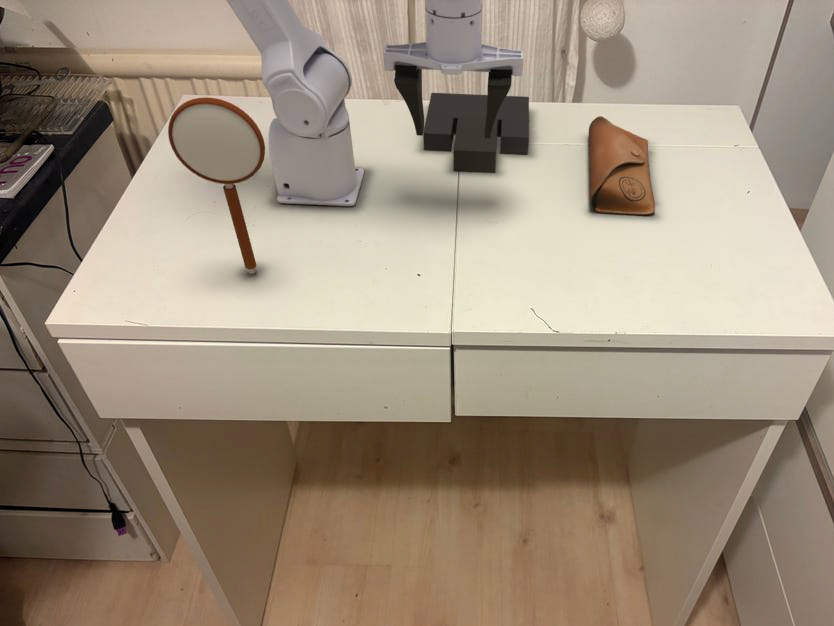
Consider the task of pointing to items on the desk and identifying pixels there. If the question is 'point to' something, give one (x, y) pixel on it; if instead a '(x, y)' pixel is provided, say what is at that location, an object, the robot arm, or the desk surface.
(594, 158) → the sunglasses case
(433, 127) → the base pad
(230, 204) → the magnifying glass
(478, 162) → the black rectangular block
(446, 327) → the desk surface
